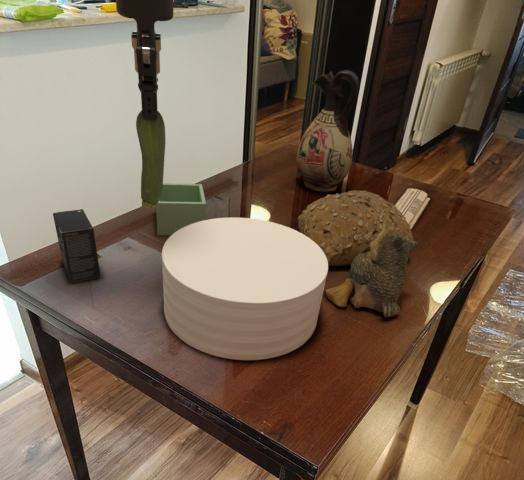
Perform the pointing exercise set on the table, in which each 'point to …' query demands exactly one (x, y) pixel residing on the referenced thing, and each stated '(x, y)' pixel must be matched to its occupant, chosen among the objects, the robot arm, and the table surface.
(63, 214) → the box
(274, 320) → the plate stack
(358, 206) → the bread
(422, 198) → the newspaper
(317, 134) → the ceramic jug
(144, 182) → the vegetable
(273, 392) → the table surface
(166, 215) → the bin
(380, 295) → the figurine
